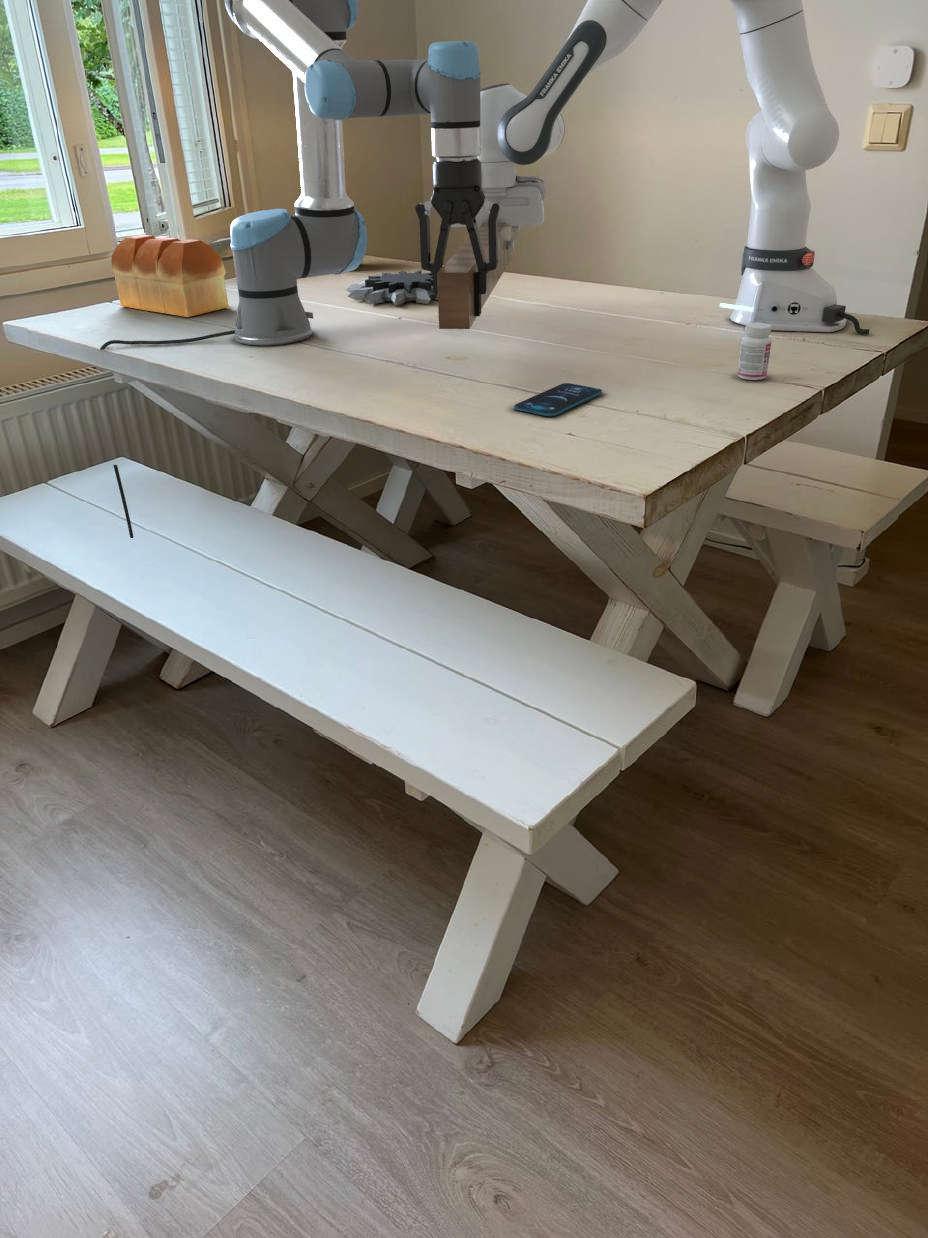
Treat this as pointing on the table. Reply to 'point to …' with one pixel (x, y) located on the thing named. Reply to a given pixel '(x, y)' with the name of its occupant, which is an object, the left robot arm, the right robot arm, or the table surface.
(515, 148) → the right robot arm
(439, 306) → the beam
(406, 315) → the table surface
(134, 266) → the bread
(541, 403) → the smartphone
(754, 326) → the pill bottle
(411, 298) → the decorative piece
